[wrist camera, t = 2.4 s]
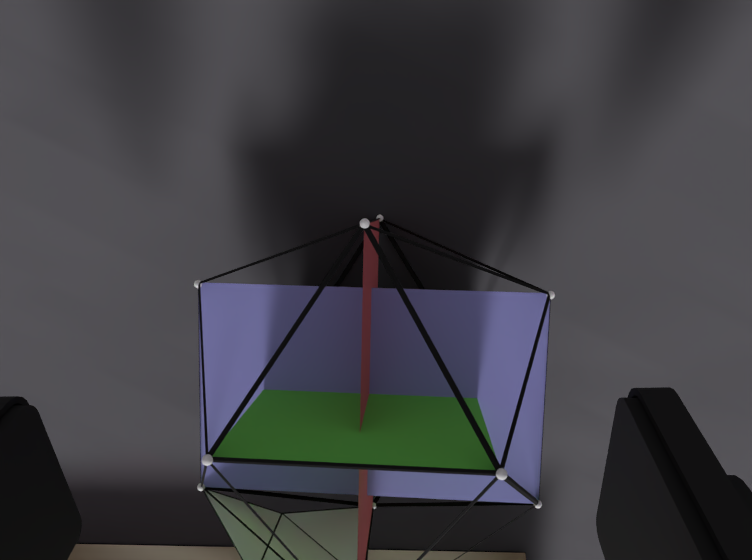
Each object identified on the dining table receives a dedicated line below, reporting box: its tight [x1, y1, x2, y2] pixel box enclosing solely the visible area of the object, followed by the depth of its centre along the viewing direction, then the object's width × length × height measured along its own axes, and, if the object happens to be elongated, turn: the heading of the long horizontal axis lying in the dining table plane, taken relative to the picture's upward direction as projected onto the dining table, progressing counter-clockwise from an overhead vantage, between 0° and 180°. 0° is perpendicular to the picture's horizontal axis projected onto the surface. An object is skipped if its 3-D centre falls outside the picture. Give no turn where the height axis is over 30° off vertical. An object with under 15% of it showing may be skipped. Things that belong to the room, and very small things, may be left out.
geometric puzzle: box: [194, 215, 555, 560], centre depth 12 cm, size 7×7×8 cm
